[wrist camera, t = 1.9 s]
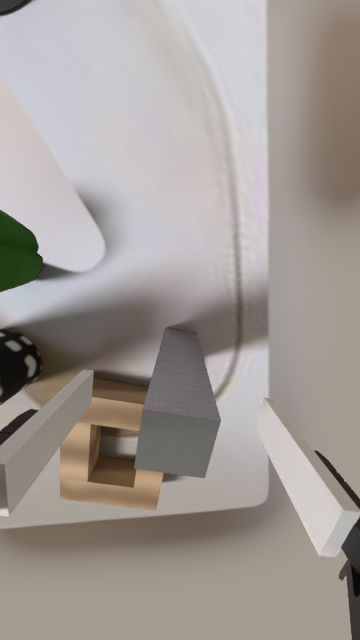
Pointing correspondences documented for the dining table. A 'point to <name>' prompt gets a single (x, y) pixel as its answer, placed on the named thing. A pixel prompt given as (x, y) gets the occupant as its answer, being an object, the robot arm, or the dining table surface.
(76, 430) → the wooden rectangular frame
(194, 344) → the bracket
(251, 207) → the dining table surface
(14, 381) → the white-spotted black cylinder
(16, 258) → the bell pepper
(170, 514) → the dining table surface
